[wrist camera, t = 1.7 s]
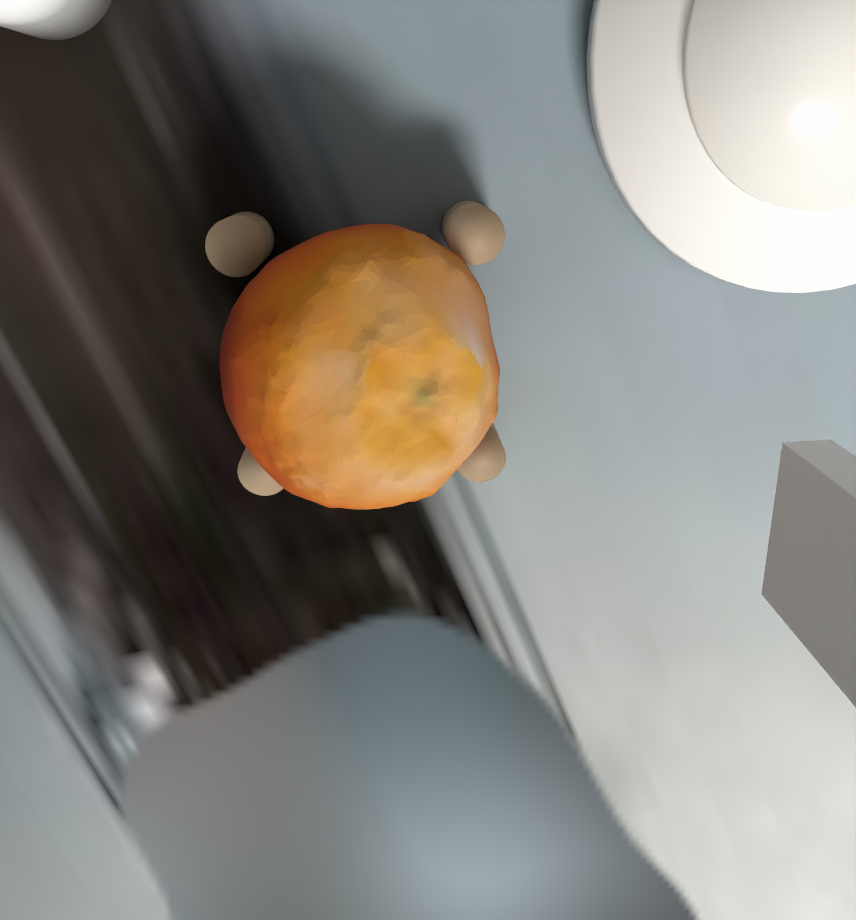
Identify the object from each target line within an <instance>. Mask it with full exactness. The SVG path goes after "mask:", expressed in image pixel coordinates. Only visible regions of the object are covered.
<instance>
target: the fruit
mask: <svg viewBox="0 0 856 920" xmlns="http://www.w3.org/2000/svg"><path fill="white" fill-rule="evenodd" d="M499 374H500V368H499V364H498V359H497V355H496V351H495V347H494V344H493V340H492V334H491V328H490V322H489V315H488V310H487V305H486V300H485V296H484V294H483V292H482V290H481V288H480V285H479V284H478V282H477V280H476V279H475V277H474V276H473V274H472V273H471V271H470V270H469V268H468V266H467V265H466V263H465V262H464V261H463V260H462V259H461V258H460V257H459V256H458V255H456V254H455V253H453V252H451V251H450V250H448V249H446V248H445V247H443V246H442V245H440V244H438V243H437V242H435V241H433V240H432V239H430V238H429V237H427V236H426V235H425V234H420V233H418V232H415V231H412V230H409V229H407V228H404V227H401V226H398V225H393V224H361V225H355V226H349V227H344V228H340V229H337V230H333V231H328V232H325V233H323V234H320V235H318V236H315V237H313V238H311V239H309V240H306V241H304V242H302V243H300V244H298V245H296V246H295V247H293V248H291V249H289V250H287V251H285V252H284V253H282V254H280V255H278V256H276V257H275V258H274V259H272V260H271V261H270V262H268V263H267V264H266V265H265V266H264V268H263V269H262V270H261V271H260V272H259V273H258V274H257V275H256V276H255V277H254V278H253V279H252V280H251V281H250V282H249V284H248V285H247V286H246V287H245V289H244V290H243V292H242V293H241V295H240V296H239V298H238V300H237V301H236V303H235V305H234V306H233V308H232V310H231V312H230V315H229V317H228V320H227V323H226V325H225V328H224V331H223V334H222V339H221V346H220V377H221V386H222V394H223V400H224V404H225V407H226V410H227V413H228V415H229V417H230V419H231V422H232V424H233V426H234V428H235V429H236V431H237V433H238V435H239V437H240V439H241V441H242V442H243V444H244V445H245V446H246V448H247V449H248V450H249V452H250V453H251V455H252V456H253V458H254V459H255V460H256V462H257V463H258V464H259V465H260V466H261V467H262V468H263V469H264V470H265V471H266V472H267V473H268V474H269V475H270V476H271V477H272V478H273V479H274V480H275V481H276V482H277V483H278V484H279V485H280V486H282V487H283V488H285V489H286V490H287V491H289V492H290V493H292V494H294V495H297V496H300V497H302V498H304V499H307V500H310V501H313V502H316V503H318V504H321V505H323V506H326V507H329V508H347V509H379V508H383V507H393V506H397V505H400V504H403V503H406V502H412V501H418V500H420V499H422V498H425V497H428V496H431V495H433V494H434V493H435V492H436V491H437V490H439V489H440V488H441V486H442V485H443V484H444V483H445V482H446V481H447V480H448V479H449V478H450V476H451V475H452V474H453V473H454V472H455V471H456V470H457V469H458V468H460V466H461V465H462V463H463V462H464V461H465V460H466V459H467V458H468V457H469V456H470V455H471V454H472V452H473V451H474V450H475V448H476V447H477V446H478V445H479V443H480V442H481V441H482V439H483V438H484V436H485V434H486V433H487V431H488V429H489V427H490V426H491V424H492V423H493V421H494V420H495V418H496V415H497V410H498V404H497V396H498V383H499Z"/></svg>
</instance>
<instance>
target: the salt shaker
mask: <svg viewBox="0 0 856 920" xmlns="http://www.w3.org/2000/svg"><path fill="white" fill-rule="evenodd" d="M111 2H112V0H0V26H2V27H5V28H8V29H11V30H14V31H17V32H21V33H24V34H27V35H30V36H33V37H36V38H41V39H46V40H63V39H69V38H73V37H76V36H78V35H81V34H83V33H85V32H86V31H88V30H89V29H91V28H92V27H93V26H95V25H96V24H97V23H98V22H99V21H100V20H101V18H102V17H103V16H104V15H105V13H106V11H107V10H108V8H109V6H110V4H111Z"/></svg>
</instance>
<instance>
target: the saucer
mask: <svg viewBox="0 0 856 920" xmlns="http://www.w3.org/2000/svg"><path fill="white" fill-rule="evenodd" d="M586 66H587V94H588V101H589V108H590V114H591V121H592V127H593V130H594V134H595V137H596V141H597V145H598V148H599V152H600V155H601V158H602V160H603V162H604V165H605V167H606V169H607V172H608V174H609V176H610V179H611V181H612V183H613V185H614V187H615V189H616V190H617V192H618V194H619V195H620V197H621V199H622V200H623V202H624V204H625V205H626V207H627V209H628V210H629V211H630V212H631V213H632V215H633V216H634V217H635V218H636V220H637V221H638V222H639V223H640V225H641V226H642V227H643V228H644V230H645V231H646V232H648V233H649V234H650V235H651V236H652V237H653V238H654V239H655V240H656V241H657V242H658V243H659V244H661V245H662V246H663V247H664V248H665V249H666V250H668V251H669V252H671V253H672V254H674V255H675V256H677V257H678V258H680V259H681V260H683V261H684V262H685V263H687V264H689V265H691V266H693V267H695V268H697V269H699V270H701V271H704V272H706V273H708V274H710V275H712V276H715V277H717V278H720V279H722V280H725V281H729V282H732V283H735V284H738V285H742V286H745V287H748V288H753V289H759V290H766V291H772V292H799V293H806V292H814V291H822V290H831V289H836V288H840V287H844V286H848V285H852V284H856V0H594V2H593V7H592V12H591V17H590V22H589V33H588V44H587V55H586Z"/></svg>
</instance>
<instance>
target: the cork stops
mask: <svg viewBox="0 0 856 920" xmlns="http://www.w3.org/2000/svg"><path fill="white" fill-rule="evenodd" d="M442 234H443V237H444V240H445V242H446V243H447V245H448V246H449V247H450V249H451V250H452V252H453V253H455V254H456V255H458V256H459V257H460V258H461V259H462V260H463V261H464V262H465V263H467V264H471V265H480V264H484V263H487V262H489V261H491V260H492V259H493V258H495V257H496V256H497V254H498V253H499V252H500V250H501V248H502V246H503V243H504V238H505V232H504V227H503V224H502V221H501V220H500V218H499V217H498V216H497V214H495V213H494V212H493V211H492V210H490V209H488V208H486V207H485V206H483V205H481V204H479V203H477V202H474V201H461V202H458V203H456V204H454V205H453V206H452V207H451V208H450V209H449V210H448V211H447V212H446V214H445V216H444V218H443V221H442ZM273 247H274V233H273V230H272V228H271V226H270V224H269V223H268V222H267V220H266V219H265V218H263V217H262V216H260V215H259V214H257V213H254V212H249V211H243V212H238V213H236V214H234V215H231V216H229V217H227V218H225V219H223V220H221V221H219V222H217V223H216V224H215V225H213V227H212V228H211V229H210V230H209V232H208V234H207V237H206V241H205V249H206V254H207V257H208V259H209V261H210V262H211V264H212V265H213V266H214V267H215V268H216V269H217V270H218V271H219V272H221V273H223V274H225V275H227V276H231V277H243V276H246V275H249V274H250V273H252V272H253V271H255V270H256V269H257V268H258V267H259V266H260V265H261V264H262V263H263V261H264V260H265V259H266V258H267V257H268V256H269V255H270V254H271V252H272V250H273ZM505 461H506V454H505V450H504V448H503V445H502V443H501V440H500V438H499V436H498V433H497V431H496V428H495V426H494V424H493V423H492V424H491V426H490V427H489V429H488V431H487V433H486V434H485V436H484V438H483V439H482V441H481V442H480V443H479V445H478V446H477V447H476V448H475V450H474V451H473V452H472V454H471V455H470V456H469V457H468V458H467V459H466V460H465V461H464V462H463V463H462V465H461V466H460V468H458V471H459V473H460V474H461V475H462V476H463V477H464V478H466V479H468V480H470V481H473V482H485V481H489V480H491V479H493V478H495V477H496V476H497V475H498V474H499V473H500V472H501V471H502V469H503V467H504V465H505ZM238 477H239V480H240V482H241V483H242V485H243V486H244V487H245V488H246V489H247V490H249V491H250V492H252V493H254V494H257V495H263V496H267V495H273V494H275V493H277V492H279V491H281V490H282V489H283V487H282V486H280V485H279V484H278V483H277V482H276V481H275V480H274V479H273V478H272V477H271V476H270V475H269V474H268V473H267V472H266V471H265V470H264V469H263V468H262V467H261V466H260V465H259V464H258V463H257V462H256V460H255V459H254V458H253V456H252V455H251V453H250V452H249V450H248V449H247V448H245V451H244V453H243V455H242V457H241V460H240V462H239V465H238Z"/></svg>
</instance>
